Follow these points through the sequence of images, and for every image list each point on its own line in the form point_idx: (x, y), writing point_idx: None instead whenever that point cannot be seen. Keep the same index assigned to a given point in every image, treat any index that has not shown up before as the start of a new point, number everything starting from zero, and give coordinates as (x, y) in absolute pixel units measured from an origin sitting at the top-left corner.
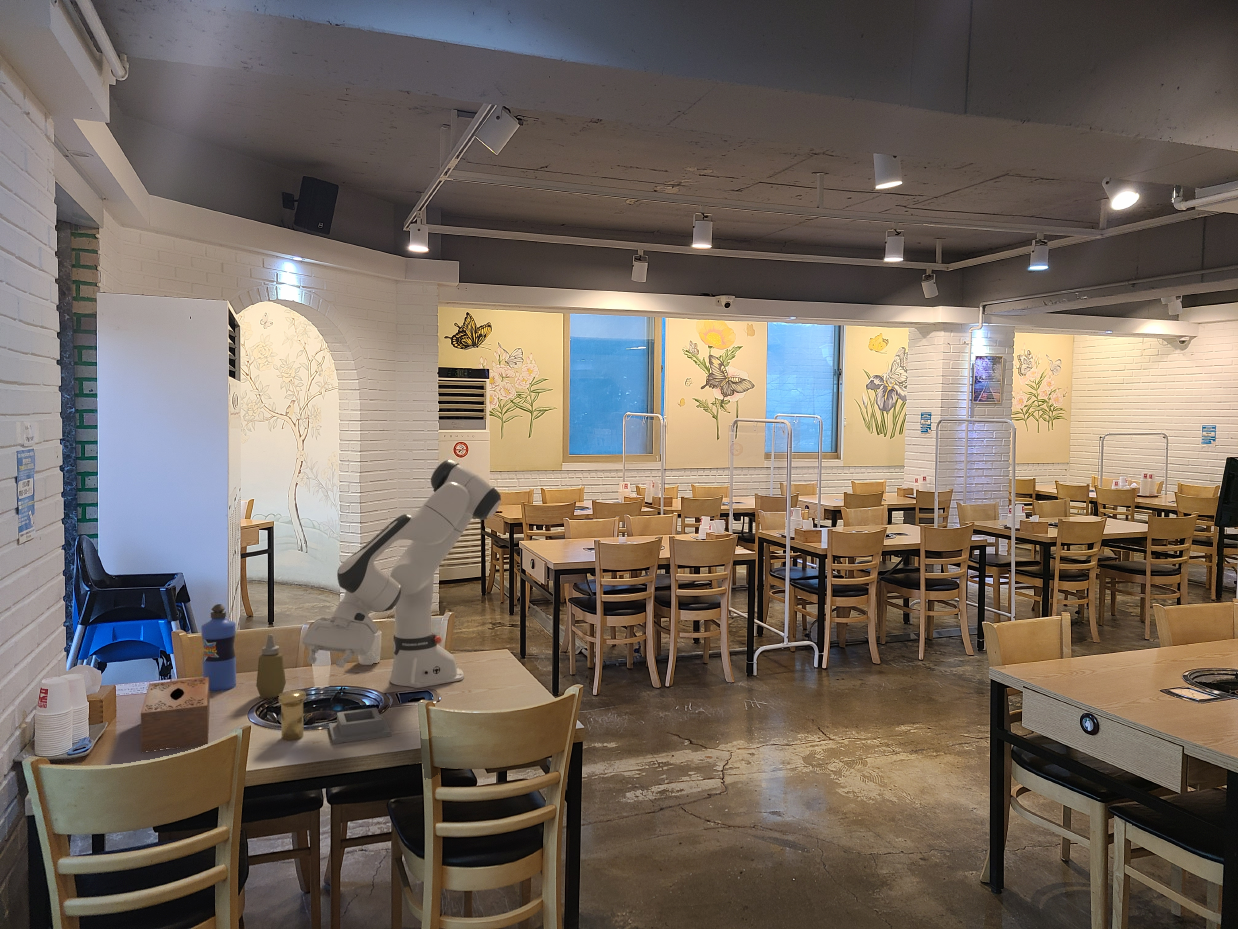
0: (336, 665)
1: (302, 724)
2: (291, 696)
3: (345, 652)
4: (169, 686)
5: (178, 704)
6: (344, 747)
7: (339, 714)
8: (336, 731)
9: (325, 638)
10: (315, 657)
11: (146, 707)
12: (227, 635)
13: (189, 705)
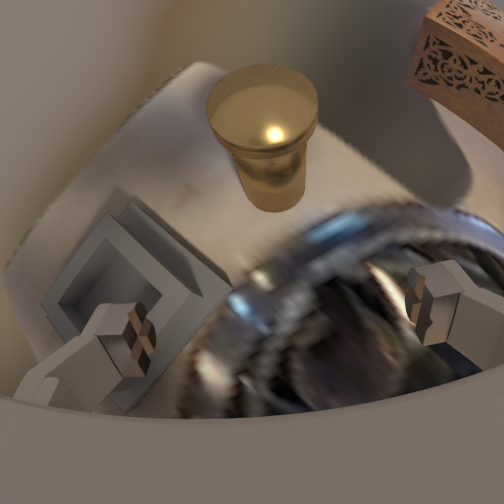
0: (144, 309)
1: (241, 179)
2: (240, 85)
3: (52, 381)
4: None
5: (471, 14)
6: (103, 208)
7: (169, 280)
8: (159, 246)
9: (468, 484)
10: (429, 324)
11: (484, 1)
12: None
13: (450, 11)
